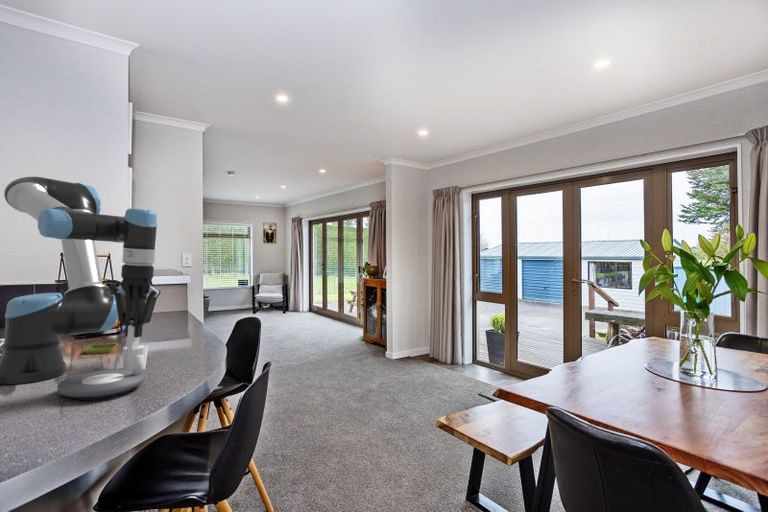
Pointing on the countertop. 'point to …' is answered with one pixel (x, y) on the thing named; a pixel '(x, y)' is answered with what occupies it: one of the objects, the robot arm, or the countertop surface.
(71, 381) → the disc
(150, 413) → the countertop surface
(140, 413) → the countertop surface
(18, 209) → the robot arm
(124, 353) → the white cup
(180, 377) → the countertop surface
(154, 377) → the countertop surface
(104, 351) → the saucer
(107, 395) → the base
